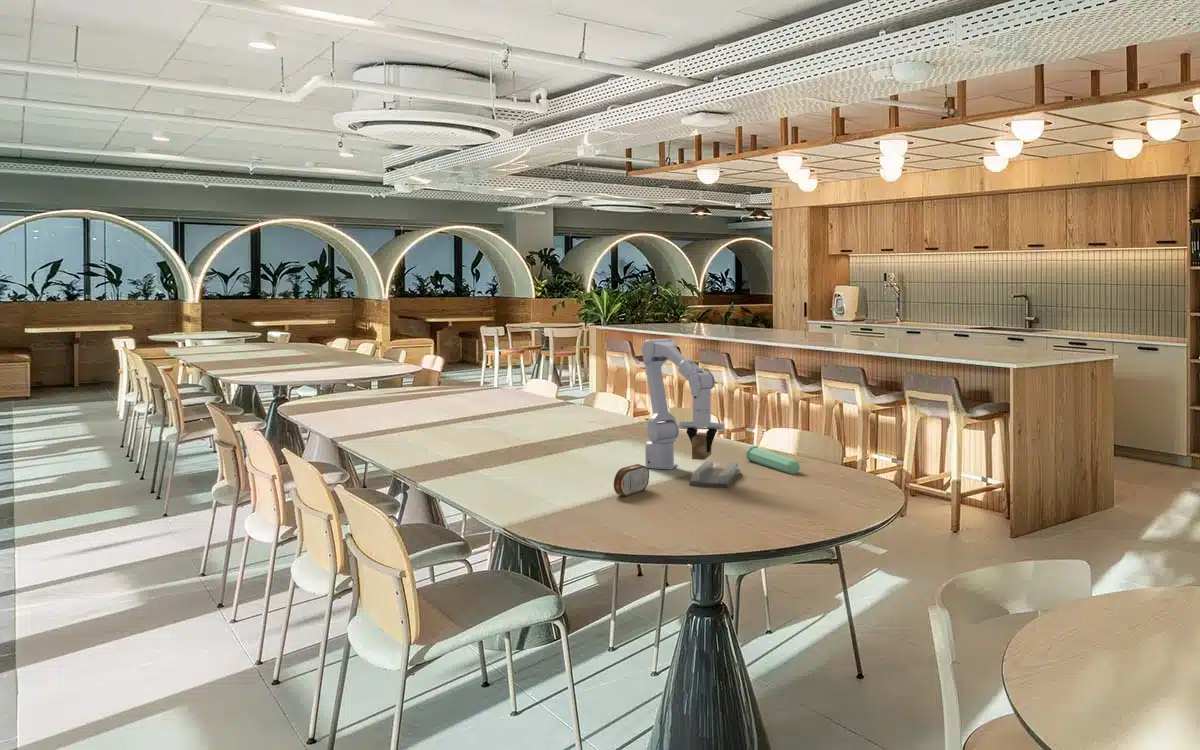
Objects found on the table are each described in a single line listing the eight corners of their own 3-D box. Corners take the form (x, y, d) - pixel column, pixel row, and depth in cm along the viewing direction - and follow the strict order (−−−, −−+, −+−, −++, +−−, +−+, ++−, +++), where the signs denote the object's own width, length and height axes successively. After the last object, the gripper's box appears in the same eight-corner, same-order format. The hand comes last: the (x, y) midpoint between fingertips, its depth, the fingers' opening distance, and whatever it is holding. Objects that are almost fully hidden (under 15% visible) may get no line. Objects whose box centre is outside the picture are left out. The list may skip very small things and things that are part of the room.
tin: (643, 488, 277) (642, 461, 276) (651, 489, 275) (651, 462, 274) (612, 497, 266) (612, 469, 265) (621, 499, 264) (620, 471, 263)
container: (800, 456, 294) (756, 442, 316) (786, 464, 292) (743, 450, 314) (805, 471, 295) (761, 457, 318) (791, 480, 293) (748, 465, 316)
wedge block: (692, 459, 285) (691, 437, 284) (699, 453, 294) (699, 432, 294) (704, 459, 284) (704, 438, 283) (711, 454, 293) (711, 433, 292)
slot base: (689, 485, 280) (689, 473, 280) (704, 470, 301) (704, 460, 300) (727, 487, 276) (727, 476, 276) (740, 472, 297) (740, 462, 296)
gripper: (676, 410, 286) (676, 452, 287) (721, 412, 281) (721, 454, 283) (682, 407, 293) (682, 448, 294) (725, 409, 288) (726, 450, 289)
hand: (701, 451), depth 289 cm, fingers closed on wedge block, 4 cm apart
